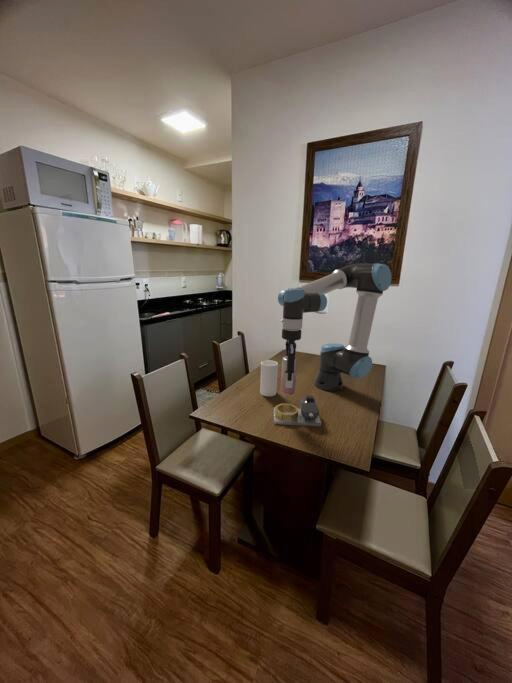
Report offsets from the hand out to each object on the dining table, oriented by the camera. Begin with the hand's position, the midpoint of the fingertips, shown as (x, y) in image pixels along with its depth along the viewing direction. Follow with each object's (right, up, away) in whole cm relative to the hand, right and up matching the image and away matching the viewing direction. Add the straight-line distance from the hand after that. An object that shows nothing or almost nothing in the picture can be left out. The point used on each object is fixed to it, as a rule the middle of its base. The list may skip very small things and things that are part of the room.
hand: (288, 383), depth 113 cm
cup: (-7, -9, +27) cm, 29 cm away
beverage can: (0, -4, +1) cm, 4 cm away
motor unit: (+4, -15, +4) cm, 16 cm away
